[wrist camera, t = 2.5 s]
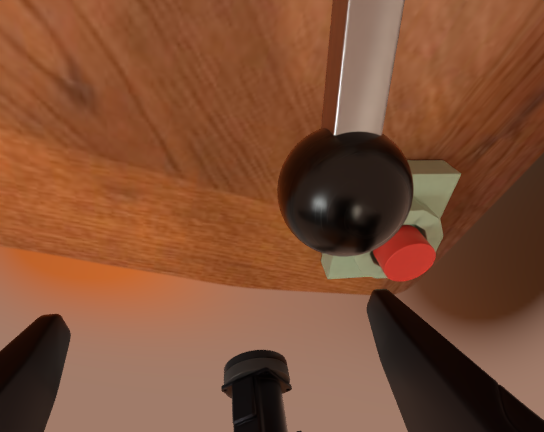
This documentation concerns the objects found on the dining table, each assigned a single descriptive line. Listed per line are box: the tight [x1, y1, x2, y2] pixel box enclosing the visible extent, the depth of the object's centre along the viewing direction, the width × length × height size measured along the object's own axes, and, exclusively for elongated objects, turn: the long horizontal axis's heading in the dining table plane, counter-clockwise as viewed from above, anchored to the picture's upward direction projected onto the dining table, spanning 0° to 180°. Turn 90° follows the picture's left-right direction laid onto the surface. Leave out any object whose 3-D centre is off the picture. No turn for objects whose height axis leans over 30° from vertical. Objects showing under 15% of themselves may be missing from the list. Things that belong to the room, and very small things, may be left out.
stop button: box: [373, 225, 436, 281], centre depth 22 cm, size 4×4×2 cm
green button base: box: [321, 160, 461, 279], centre depth 24 cm, size 10×8×4 cm
